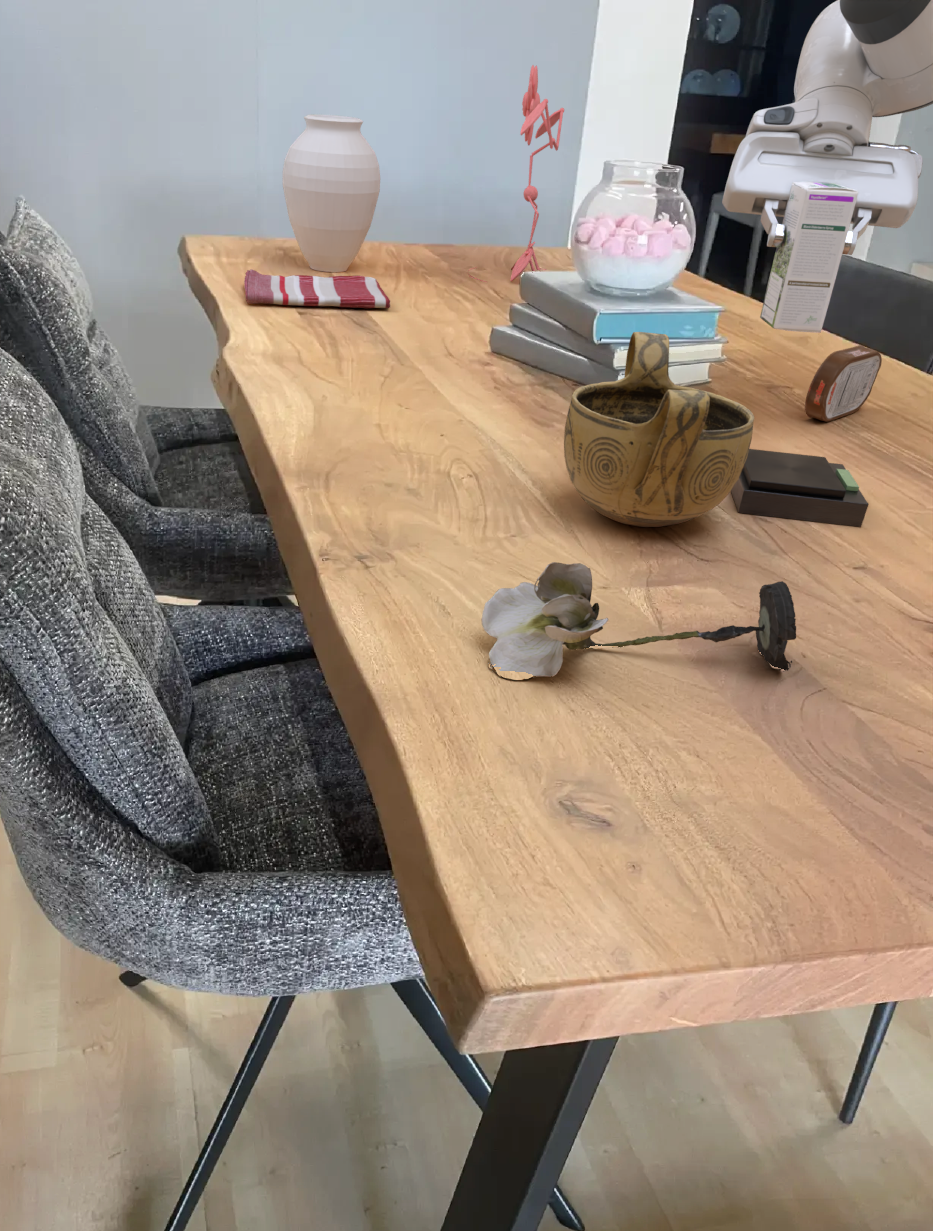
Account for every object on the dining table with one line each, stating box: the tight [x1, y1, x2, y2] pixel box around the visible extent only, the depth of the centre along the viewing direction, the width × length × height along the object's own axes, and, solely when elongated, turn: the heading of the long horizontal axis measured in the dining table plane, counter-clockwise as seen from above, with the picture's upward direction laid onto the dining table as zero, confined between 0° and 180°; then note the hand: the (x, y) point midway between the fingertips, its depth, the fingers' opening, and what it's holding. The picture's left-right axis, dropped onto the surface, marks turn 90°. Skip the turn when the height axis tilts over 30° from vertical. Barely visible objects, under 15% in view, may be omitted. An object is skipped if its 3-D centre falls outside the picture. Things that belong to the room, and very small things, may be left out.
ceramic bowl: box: [563, 331, 755, 528], centre depth 99 cm, size 22×17×15 cm
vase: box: [282, 113, 381, 273], centre depth 193 cm, size 18×18×25 cm
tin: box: [804, 344, 883, 422], centre depth 135 cm, size 15×3×8 cm, turn 134°
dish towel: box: [243, 268, 391, 309], centre depth 176 cm, size 17×23×3 cm
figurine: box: [467, 64, 565, 283], centre depth 195 cm, size 15×26×35 cm, turn 170°
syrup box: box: [759, 182, 858, 334], centre depth 116 cm, size 6×6×14 cm
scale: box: [730, 448, 869, 528], centre depth 109 cm, size 12×12×3 cm
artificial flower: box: [481, 561, 797, 678], centre depth 76 cm, size 9×22×10 cm, turn 89°
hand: (810, 247), depth 115 cm, fingers closed on syrup box, 6 cm apart
